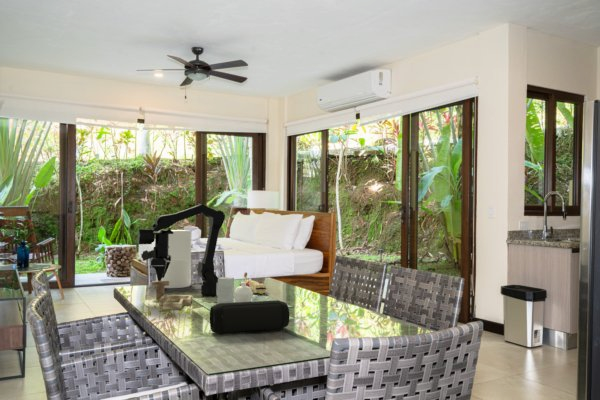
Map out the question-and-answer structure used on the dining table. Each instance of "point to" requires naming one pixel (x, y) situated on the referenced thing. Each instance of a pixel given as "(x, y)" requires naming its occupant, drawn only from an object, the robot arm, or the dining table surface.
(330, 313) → the dining table surface
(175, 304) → the keyhole cradle
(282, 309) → the portable speaker
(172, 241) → the cylinder
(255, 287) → the cat figure
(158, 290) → the tan brick
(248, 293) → the white vase
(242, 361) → the dining table surface
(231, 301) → the skincare box
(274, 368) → the dining table surface
